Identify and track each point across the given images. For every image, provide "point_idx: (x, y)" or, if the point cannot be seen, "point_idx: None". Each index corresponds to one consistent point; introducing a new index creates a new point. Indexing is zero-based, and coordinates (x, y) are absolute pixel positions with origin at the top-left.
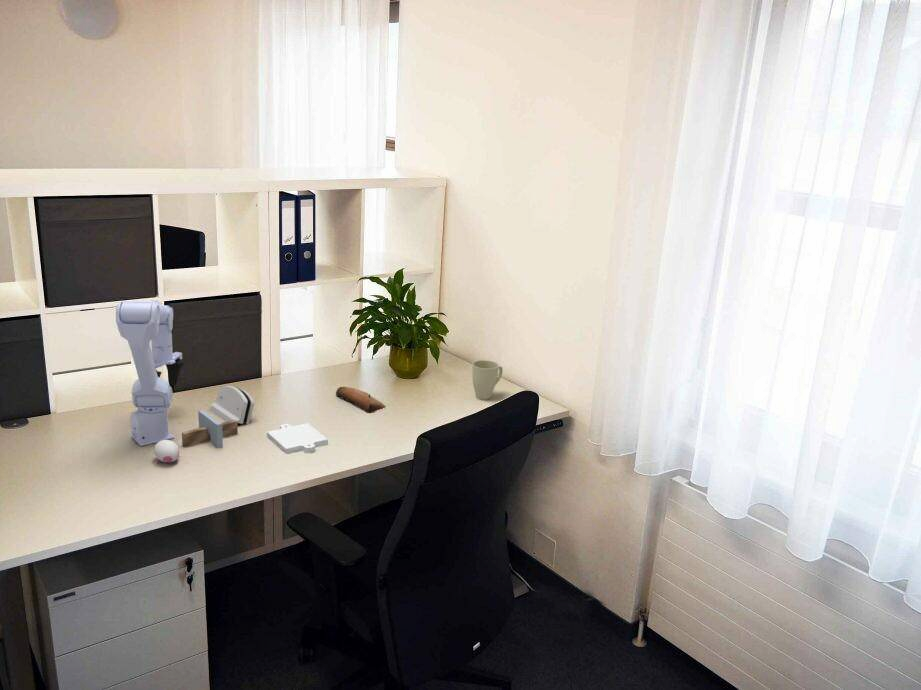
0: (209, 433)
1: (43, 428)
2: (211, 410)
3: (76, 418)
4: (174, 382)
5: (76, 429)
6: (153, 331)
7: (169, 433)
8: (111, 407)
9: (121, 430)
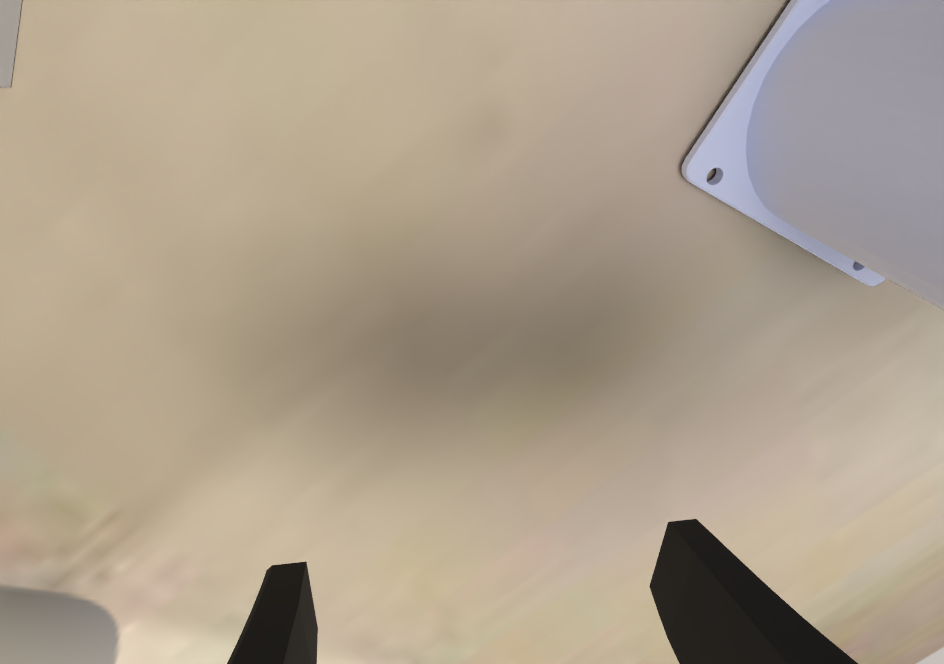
0: None
1: None
2: (4, 32)
3: None
4: (301, 606)
5: (807, 563)
6: None
7: (806, 6)
8: (487, 648)
9: (772, 399)
